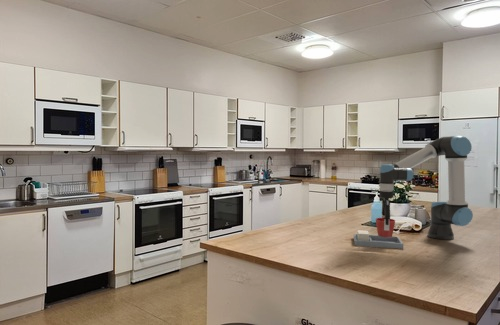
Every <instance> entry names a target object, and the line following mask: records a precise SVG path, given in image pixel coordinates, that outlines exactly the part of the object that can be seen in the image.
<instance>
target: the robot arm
mask: <svg viewBox="0 0 500 325" xmlns="http://www.w3.org/2000/svg"><path fill="white" fill-rule="evenodd" d="M472 148H473V147H472V143H471V140H470V139H468V138H467V137H466V136H463V135H451V136H441V137H439V138H437V139H435V140H433V141H431V142H428V143H427V144H425V146H424V147H423V148H422V149H420V150H418V151H416V152H414V153H412V154H409V155H408V156H406V157H405V158H402V159H400V160H399V161H397V162H396V163H393V164H381V165H380V168H379V185H378V187H379V190H380V191H379V198H382V201H381V205H382V206H381V218H383V219H384V230H387V231H389V221H390V219H391V201H390V199H393V198H394V189H395V188H394V182H395V181H400V182H402V181H403V182H404V181H405V182H409V181H412V180H413V179H414V174H415V173H414V170H413V168H415V167H417V166H419V165H421V164H423V163H424V162H427V161H428V160H430V159H435V158H437V157H441V156H444V160H446V161H447V170H448V171H447V175H448V176H447V177H448V200H447V201H433V202H431V205H430V225H429V227H428V228H429V229H428V231H427V237H429V238H432V239H438V240H446V241H447V240H449V241H450V240H454V239H455V233H454V231H453V229H452V225H454V226H457V227H458V226H460V227H464V226H465V227H466V226H468V225H469V224H470V223H471V222H472V221H473V217H474V215H473V211H472V210H471V208H469V203H468V202H467V201H466V188H465V187H466V186H465V184H466V183H465V182H466V181H465V178H466V177H465V161H466V160H467V159H468V155H469V154H470V153H471V151H472Z"/></svg>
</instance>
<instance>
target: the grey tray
mask: <svg viewBox="0 0 500 325" xmlns="http://www.w3.org/2000/svg"><path fill="white" fill-rule="evenodd" d="M353 242H354V246H357V247H358V246H359V247H373V248H375V247H376V248H385V249H386V248H388V249H401V250H402V251H404V242H403V241H402V239H401V238H400V237H399V236H393V235H392V237H381V236H378V234H369V241H359V240H357V233H353Z"/></svg>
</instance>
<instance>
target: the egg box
mask: <svg viewBox="0 0 500 325" xmlns="http://www.w3.org/2000/svg"><path fill="white" fill-rule="evenodd" d="M356 234H357V240H359V241H369V235H370V233H369V231H368V230H360V229H358V230H357V232H356Z"/></svg>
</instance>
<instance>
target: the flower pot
mask: <svg viewBox="0 0 500 325" xmlns="http://www.w3.org/2000/svg"><path fill="white" fill-rule="evenodd" d="M395 224H396V220H395V219H393V218H390V221H389V231H387V230H384V219H383V218H382V217H377V218H375V225H376V232H377V235H378V236H381V237H392V236H393V234H394V228H395Z"/></svg>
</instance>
